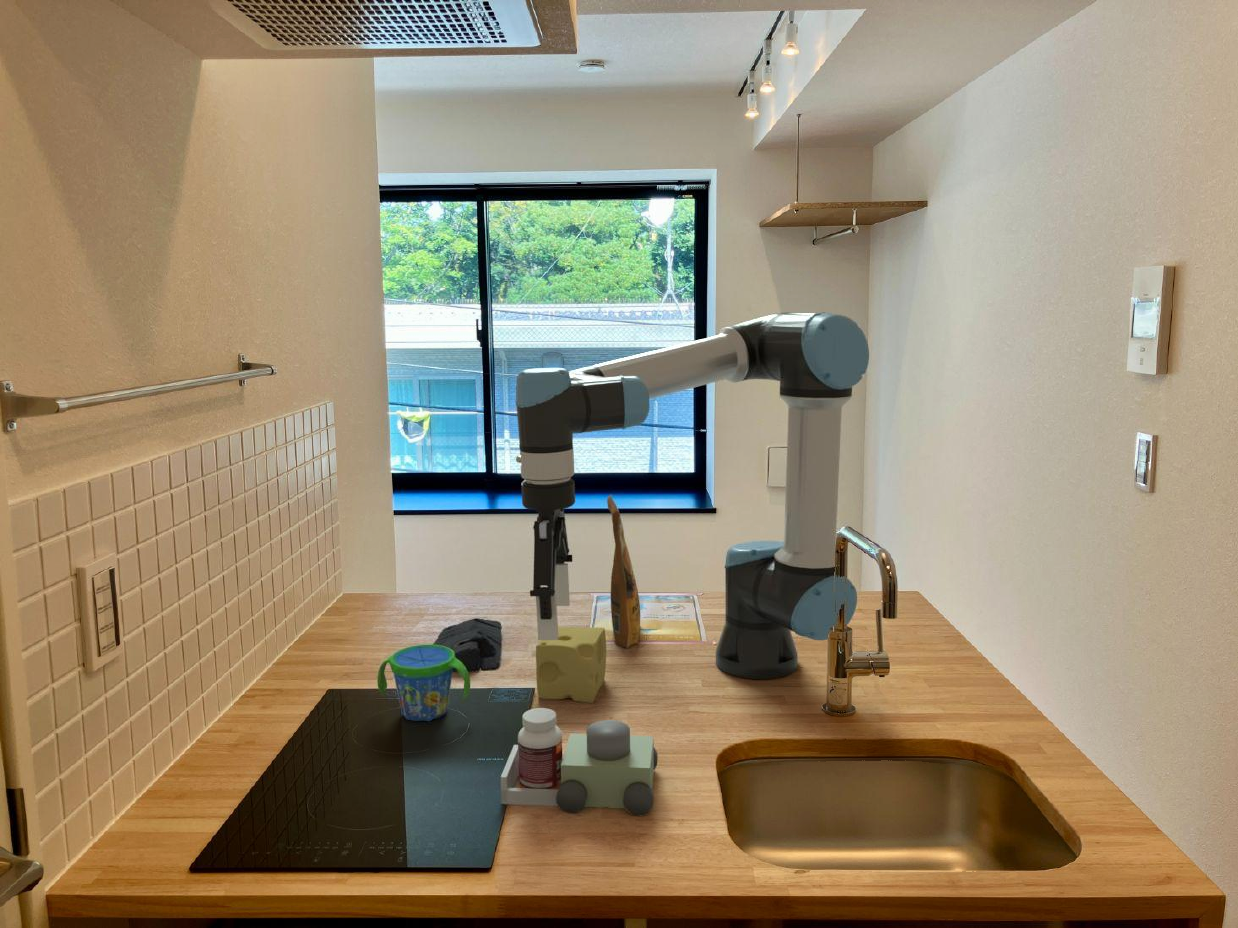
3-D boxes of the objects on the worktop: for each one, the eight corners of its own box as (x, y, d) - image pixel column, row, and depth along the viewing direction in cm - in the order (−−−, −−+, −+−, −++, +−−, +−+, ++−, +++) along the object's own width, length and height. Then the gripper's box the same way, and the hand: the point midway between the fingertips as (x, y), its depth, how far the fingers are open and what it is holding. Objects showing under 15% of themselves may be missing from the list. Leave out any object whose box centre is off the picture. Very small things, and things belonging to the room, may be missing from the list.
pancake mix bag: (604, 651, 178) (602, 511, 173) (609, 617, 197) (607, 490, 192) (639, 651, 178) (637, 511, 173) (641, 617, 196) (639, 489, 191)
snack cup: (482, 705, 155) (479, 648, 153) (452, 733, 145) (449, 673, 144) (400, 694, 160) (397, 639, 158) (367, 721, 150) (363, 662, 148)
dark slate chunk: (513, 631, 191) (512, 609, 190) (498, 674, 169) (497, 650, 168) (439, 631, 191) (438, 610, 190) (415, 675, 169) (414, 650, 168)
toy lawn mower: (657, 768, 134) (657, 711, 132) (653, 816, 121) (652, 753, 120) (517, 764, 135) (515, 707, 134) (499, 810, 123) (496, 748, 122)
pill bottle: (566, 797, 127) (565, 722, 125) (522, 802, 125) (519, 727, 123) (559, 774, 132) (557, 703, 131) (516, 780, 131) (514, 708, 129)
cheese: (594, 704, 155) (593, 648, 153) (533, 699, 157) (531, 644, 156) (607, 679, 165) (606, 626, 164) (550, 675, 167) (548, 623, 166)
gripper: (534, 462, 142) (541, 593, 146) (505, 499, 117) (514, 655, 121) (583, 461, 141) (588, 592, 145) (563, 498, 117) (570, 655, 121)
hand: (554, 621), depth 133 cm, fingers open, 13 cm apart
